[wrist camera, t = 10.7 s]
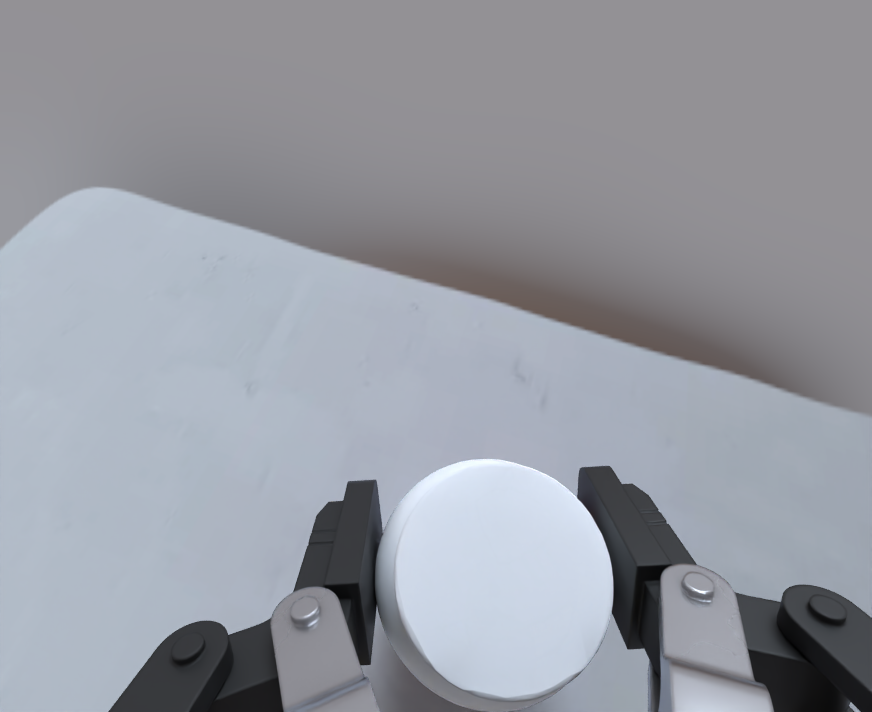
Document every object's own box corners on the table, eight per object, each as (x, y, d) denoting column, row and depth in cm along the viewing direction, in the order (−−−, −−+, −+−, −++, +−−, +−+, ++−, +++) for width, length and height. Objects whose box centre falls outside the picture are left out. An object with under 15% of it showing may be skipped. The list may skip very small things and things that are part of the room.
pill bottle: (581, 595, 17) (724, 612, 8) (459, 701, 16) (475, 851, 7) (487, 470, 19) (521, 376, 10) (370, 556, 18) (297, 535, 9)
